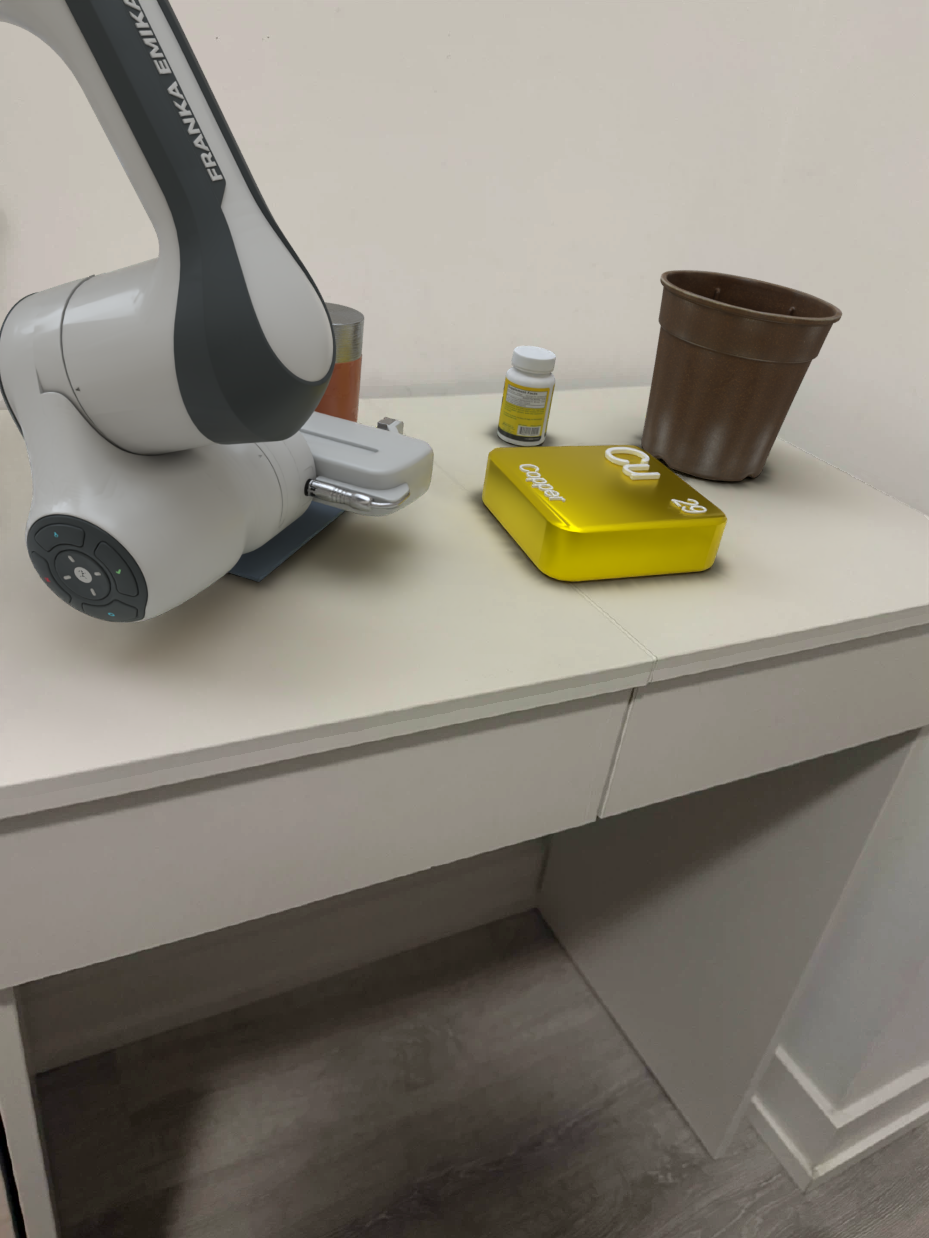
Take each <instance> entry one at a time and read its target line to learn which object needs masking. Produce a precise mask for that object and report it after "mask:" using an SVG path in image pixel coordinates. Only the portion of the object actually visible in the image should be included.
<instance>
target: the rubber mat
mask: <svg viewBox="0 0 929 1238" xmlns="http://www.w3.org/2000/svg"><path fill="white" fill-rule="evenodd" d="M345 511H346V510H342V509H339V508H335V507H332V506H329V505H325V504H322V503H318V502H315V501H311V504H310V505H309V507H308V508H307V510H306V511H305V512H304V513H303V514H302V515H301V516H300V517H299V518H298V519H296V520H295V521H294V522H292V523H291V524H290V525H289V526H287V527H286V528H285V529H283V530H282V531H281V532H280V533H278V534H277V535H276V536H274V537H273V538H272V539H270V540H269V541H268V542H266V543H265V544H264V545H263V546H261V547H259V548H257V549H256V550H254V551H251V552H249V553H246V554H242V555H241V557H240V559H239V560H238V562H237V563H236V564H235V566H234V567H233V568H232V569H231V570H230V571H228V572H227V574H228V573H229V574H232V575H234V576H237V577H241V578H245V579H248V580H251V581H255V582H256V583H257V582H258V583H260V582H262V580H264V579H265V578H266V577H267V576H269V575H270V574H271V573H272V572H273V571H275V570H276V569H277V568H278V567H280V566H281V564H283V563H285V562H286V560H288V559H289V558H290V557H292V555H294V554H295V553H296V552H297V551H299V550H300V549H301V548H302V547H303V546H304V545H306V544H307V543H309V541H310V540H312V539H313V538H314V537H316V536H317V535H318V534H319V533H320V532H321V531H323V530H324V529H325V528H326V527H328V526H329V525H330V524H331V523H332V522H334V521H335V520H336V519H338V518H339V517H340V516H341V515H342V514H343V513H344V512H345Z"/></svg>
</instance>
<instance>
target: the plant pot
mask: <svg viewBox="0 0 929 1238" xmlns="http://www.w3.org/2000/svg"><path fill="white" fill-rule="evenodd" d="M659 281H660V284H661V285H662V294H661V300H660V308H659V313H658V315H659V316H658V323H659V325H660V328H659V333H658V334H659V335H658V340H657V346H656V353H655V361H654V365H653V366H654V367H653V370H652V371H653V372H652V376H651V377H652V378H651V384H650V388H649V395H648V401H647V407H646V412H645V418H644V423H643V429H642V434H641V438H640V439H641V440H640V443H641V447H642V449H643V450H645V451H646V452H648V453H649V454H651V455H652V456H653V457H654V458H656V459H657V460H660V459H662V460H663V462H665V464H666V465H667V466H668V468H669V469H671V470H675V471H678V472H681V473H683V474H684V473H685V474H687V475H691V476H692V477H695V478H699V479H703V480H704V479H705V480H711V481H723V482H741V481H743V480H744V479H746V478H747V477H749V478H751V479H755V478H757V477H758V476H759V475H760V474H761V473H762V472H763V469H764V467H765V465H766V462H767V460H768V458H769V456H770V453H771V451H772V448H773V446H774V444H775V442H776V439H777V437H778V435H779V433H780V430H781V428H782V426H783V424H784V422H785V420H786V418H787V416H788V413H789V411H790V408H791V407H792V404H793V402H794V400H795V397H796V396H797V394H798V391H799V389H800V387H801V385H802V383H803V381H804V379H805V376H806V374H807V372H808V370H809V368H810V366H811V363H812V362H813V360H814V359H816V358H818V357H819V355H820V352H821V350H822V348H823V346H824V344H825V341H826V340H827V337H828V335H829V333H830V331H831V329H832V327H833V325H834V324H836V323H838V322H839V321H840V320H841V318H842V316H843V312H842V310H841V309H840V308H839V307H838V306H836V305H834V304H833V303H831V302H828V301H827V300H825V299H822V298H820V297H817V296H815V295H813V294H811V293H808V292H806V291H805V292H804V291H802V290H799V289H795V288H791V287H788V286H784V285H781V284H777V283H773V282H769V281H766V280H765V281H764V280H761V279H756V278H751V277H747V276H740V275H735V274H732V273H731V274H730V273H724V272H717V271H710V270H698V269H697V270H695V269H680V270H678V269H677V270H676V269H675V270H667V271H664V272H662V273H661V275H660V279H659Z"/></svg>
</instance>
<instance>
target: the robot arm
mask: <svg viewBox="0 0 929 1238" xmlns="http://www.w3.org/2000/svg"><path fill="white" fill-rule="evenodd" d="M0 22H2V23H7V24H10V25H13V26H16V27H19V28H21V29H23V30H25V31H27V32H29V33H30V34H32V35H34V36H35V37H37V38H38V39H40V40H41V41H42V42H43V43H44V44H46V45H47V46H48V47H49V48H50V49H51V50H52V51H53V52H54V53H55V54H56V55H57V56H58V57H59V58H60V59H61V61H63V63H64V64H65V65H66V67H67V68H68V69H69V70H70V72H71V74H72V75H73V77H74V78H75V79H76V81H77V83H78V85H79V86H80V88H81V90H82V92H83V94H84V96H85V98H86V99H87V101H88V104H89V106H90V107H91V110H92V111H93V113H94V115H95V117H96V119H97V121H98V122H99V123H98V124H99V125H100V127H101V128H102V131H103V132H104V134H105V136H106V138H107V140H108V142H109V144H110V146H111V148H112V150H113V152H114V153H115V156H116V157H117V160H118V161H119V163H120V165H121V167H122V169H123V171H124V173H125V175H126V176H127V178H128V181H129V183H131V187H132V188H133V190H134V192H135V194H136V196H137V198H138V199H139V201H140V203H141V205H142V207H143V210H144V211H145V213H146V215H147V217H148V219H149V221H150V224H151V225H152V228H153V230H154V232H155V234H156V238H157V241H158V256H157V257H154V258H151V259H148V260H145V261H141V262H138V263H135V264H131V265H127V266H124V267H121V268H117V269H115V270H111V271H108V272H103V273H100V274H96V275H95V274H94V273H93V274H91V275H88V276H86V277H82V278H79V279H75V280H72V281H68V282H64V283H62V284H59V285H55V286H52V287H50V288H46V289H43V290H41V291H36V292H32V293H29V294H27V295H25V296H23V297H21V298H20V299H19V300H18V301H17V302H16V303H14V304H13V306H12V307H11V308H10V309H9V311H8V312H7V314H6V315H5V317H4V319H3V321H2V324H1V326H0V393H1V396H2V399H3V402H4V404H5V407H6V408H7V410H8V413H9V415H10V416H11V418H12V420H13V422H14V424H15V426H16V428H17V430H18V431H19V433H20V435H21V437H22V439H23V441H24V444H25V447H26V453H27V458H28V462H29V468H30V474H31V483H32V499H31V503H30V508H29V512H28V517H27V520H26V525H25V533H24V535H25V536H24V537H25V538H24V540H25V547H26V551H27V554H28V557H29V560H30V562H31V564H32V567H33V568H34V570H35V571H36V573H37V575H38V576H39V578H40V579H41V580H42V582H43V583H44V584H45V585H46V586H47V588H49V590H50V591H51V592H52V593H53V594H55V596H57V597H58V598H59V599H60V600H62V601H63V602H64V603H65V604H67V605H68V606H69V607H71V608H73V609H75V610H76V611H78V612H80V613H82V614H84V615H87V616H88V617H92V618H94V619H98V620H101V621H104V622H110V623H123V624H124V623H125V624H126V623H129V624H131V623H138V622H143V621H148V620H151V619H154V618H156V617H158V616H160V615H163V614H165V613H167V612H169V611H171V610H173V609H175V608H177V607H179V606H180V605H182V604H184V603H185V602H187V601H188V600H190V599H192V598H193V597H195V596H197V595H198V594H200V593H202V592H203V591H204V590H206V589H207V588H209V587H210V586H212V585H213V584H215V583H216V582H217V581H218V580H220V579H221V578H222V577H224V576H225V575H226V574H228V571H230V570H231V569H232V568H233V567H234V566H235V564H236V563H237V562H238V560H239V559H240V557H241V555H242V554H246V553H249V552H251V551H254V550H256V549H257V548H259V547H261V546H263V545H264V544H265V543H266V542H268V541H269V540H270V539H272V538H273V537H274V536H276V535H277V534H278V533H280V532H281V531H282V530H283V529H285V528H286V527H287V526H289V525H290V524H291V523H292V522H294V521H295V520H296V519H298V518H299V517H300V516H301V515H302V514H303V513H304V512H305V511H306V510H307V508H308V507H309V505H310V504H311V501H315V502H318V503H322V504H325V505H329V506H332V507H335V508H339V509H342V510H345V511H346V512H350V513H353V514H357V515H361V516H366V517H376V518H377V517H378V518H379V517H385V516H388V515H392V514H395V513H396V512H398V511H400V510H401V509H404V508H405V507H407V506H409V505H411V504H413V503H414V502H415V501H416V500H418V499H420V498H421V497H422V496H424V495H425V494H426V493H427V492H428V491H429V489H430V486H431V482H432V477H433V470H434V458H435V452H434V449H433V447H432V446H431V444H430V443H429V442H428V441H426V440H424V439H421V438H417V437H412V436H409V435H406V434H404V424H405V423H404V421H403V420H399V419H395V418H391V417H388V416H384V417H383V419H380V420H378V421H377V424H376V425H377V426H376V427H375V426H372V425H367V424H364V423H360V422H357V423H356V422H353V421H349V420H345V419H341V418H338V417H334V416H330V415H326V414H322V413H319V412H315V409H316V408H317V406H318V404H319V403H320V401H321V399H322V397H323V395H324V393H325V391H326V389H327V387H328V384H329V382H330V379H331V376H332V373H333V370H334V366H335V361H336V340H335V334H334V329H333V325H332V321H331V318H330V315H329V312H328V309H327V306H326V304H325V300H324V298H323V296H322V293H321V291H320V289H319V288H318V285H317V284H316V282H315V280H314V279H313V277H312V275H311V274H310V272H309V270H308V269H307V267H306V266H305V264H304V263H303V261H302V260H301V259H300V257H299V255H298V254H297V252H296V251H295V249H294V248H293V246H292V244H291V243H290V242H289V240H288V239H287V237H286V235H285V234H284V232H283V230H282V229H281V228H280V225H279V224H278V222H277V221H276V219H275V217H274V215H273V214H272V212H271V210H270V208H269V206H268V204H267V202H266V200H265V198H264V197H263V194H262V192H261V190H260V188H259V187H258V184H257V182H256V180H255V178H254V176H253V174H252V172H251V169H250V168H249V165H248V163H247V161H246V159H245V157H244V155H243V153H242V150H241V149H240V145H239V144H238V142H237V140H236V138H235V135H234V134H233V131H232V130H231V127H230V126H229V124H228V121H227V119H226V117H225V115H224V113H223V110H222V108H221V106H220V105H219V102H218V100H217V98H216V96H215V94H214V92H213V89H212V88H211V85H210V83H209V82H208V79H207V77H206V75H205V72H204V70H203V68H202V66H201V65H200V63H199V61H198V59H197V56H196V54H195V52H194V50H193V48H192V46H191V44H190V42H189V40H188V38H187V35H186V34H185V32H184V29H183V27H182V25H181V23H180V20H179V19H178V16H177V14H176V13H175V11H174V9H173V7H172V5H171V1H169V0H0Z"/></svg>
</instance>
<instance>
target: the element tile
mask: <svg viewBox="0 0 929 1238" xmlns="http://www.w3.org/2000/svg"><path fill="white" fill-rule="evenodd" d="M486 460H487V461H486V467H485V473H484V478H483V479H484V480H483V485H482V492H481V500H482V502H483V504H484V505H485V506H486V508H487V509H488V510H489V511H490V512H491V514H492V515H493V516H494V517H495V518H496V520H497V521H498V522H499V523H500V525H501V526H502V528H504V529H505V530H506V532H507V533H508V534H509V535H510V537H511V538H512V539H513V540H514V541H515V542H516V544H517V545H518V546H519V547H520V548H521V550H522V551H523V552H524V553H525V554H526V555H527V557H528V558H529V559H530V561H531V562H532V563H533V564H534V565H535V566H536V568H537V569H538V570H539V571H540V572H541V573H543V574H544V575H546V576H548V577H549V578H551V579H554V580H557V581H563V582H574V583H575V582H586V581H587V582H588V581H598V580H612V579H613V580H614V579H625V578H638V577H647V576H661V575H673V574H685V573H697V572H702V571H706V570H709V569H710V568H712V567H713V565H714V563H715V561H716V557H717V554H718V552H719V548H720V545H721V542H722V539H723V536H724V532H725V530H726V526H727V522H728V517H727V515H726V513H725V512H724V511H723V510H722V509H721V508H720V507H718V506H717V505H715V504H714V503H713V502H712V501H710V500H709V499H708V498H707V497H706V496H704V494H702V493H700V492H699V491H698V490H697V489H695V488H694V487H693V486H691V484H690V483H688V482H686V481H685V480H684V479H683V478H682V477H680V476H679V475H678V474H676V473H675V472H674V471H673V470H672V469H671V468H669V467H667V466H666V465H665V464H664V463H662V462H661V461H660V460H659V459H656V458H654V457H653V456H652V455H651V454H649V453H648V452H646V451H645V450H644V449H643V448H641V447H640V446H637V445H633V444H608V445H607V444H605V445H596V444H595V445H554V446H553V445H552V446H551V445H550V446H549V445H548V446H547V445H545V446H503V447H502V446H499V447H495V448H493V449H491V450H490V451H489V452H488V454H487V459H486Z"/></svg>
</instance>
